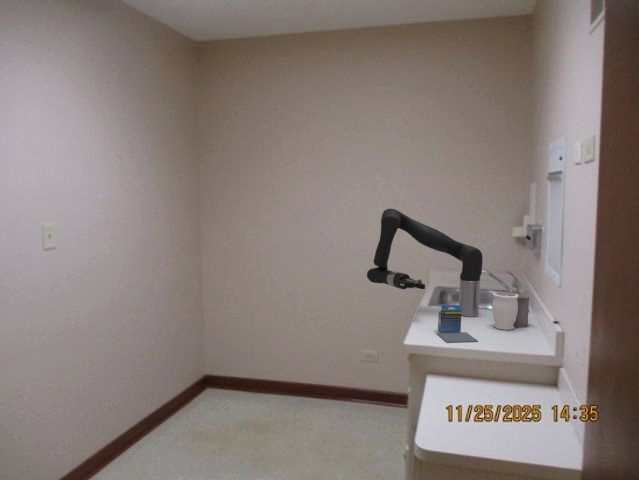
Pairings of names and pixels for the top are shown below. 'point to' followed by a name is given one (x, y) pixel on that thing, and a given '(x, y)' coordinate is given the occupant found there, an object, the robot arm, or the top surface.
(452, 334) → the mat
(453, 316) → the label tape box
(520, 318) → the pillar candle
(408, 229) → the robot arm
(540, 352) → the top surface
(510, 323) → the jar
